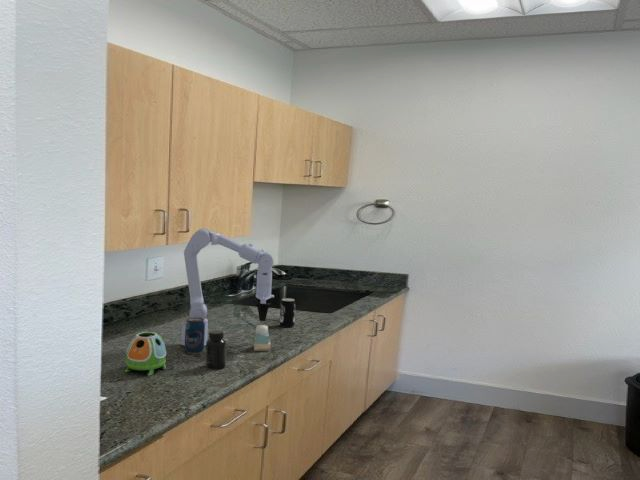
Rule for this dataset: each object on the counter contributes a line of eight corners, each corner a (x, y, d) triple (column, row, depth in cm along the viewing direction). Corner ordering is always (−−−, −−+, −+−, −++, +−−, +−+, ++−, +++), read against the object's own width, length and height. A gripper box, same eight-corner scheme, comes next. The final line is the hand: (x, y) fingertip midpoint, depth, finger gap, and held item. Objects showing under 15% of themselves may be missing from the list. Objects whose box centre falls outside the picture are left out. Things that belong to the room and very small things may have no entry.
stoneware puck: (261, 336, 222) (261, 328, 222) (253, 333, 225) (253, 326, 225) (270, 334, 225) (270, 326, 225) (262, 332, 228) (262, 324, 228)
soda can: (184, 354, 213) (185, 321, 212) (184, 349, 220) (185, 317, 219) (204, 354, 215) (205, 321, 214) (203, 348, 221) (204, 317, 220)
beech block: (270, 351, 223) (270, 344, 223) (254, 351, 223) (254, 343, 222) (269, 347, 229) (270, 340, 229) (254, 347, 228) (254, 339, 228)
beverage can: (292, 328, 260) (293, 301, 259) (277, 326, 262) (279, 300, 260) (295, 325, 267) (297, 298, 266) (281, 323, 268) (282, 297, 267)
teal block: (268, 343, 223) (268, 336, 223) (255, 343, 223) (255, 335, 222) (268, 340, 228) (268, 332, 228) (255, 340, 228) (255, 332, 227)
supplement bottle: (216, 362, 205) (217, 328, 204) (230, 366, 201) (231, 332, 200) (201, 366, 200) (202, 331, 199) (214, 371, 196) (215, 335, 195)
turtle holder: (177, 362, 204) (178, 327, 203) (154, 378, 186) (155, 341, 185) (143, 358, 206) (144, 324, 205) (117, 374, 188) (118, 337, 187)
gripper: (274, 287, 222) (272, 323, 223) (274, 281, 236) (273, 314, 237) (255, 286, 221) (254, 322, 223) (256, 280, 236) (255, 314, 237)
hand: (262, 318), depth 230 cm, fingers open, 7 cm apart
